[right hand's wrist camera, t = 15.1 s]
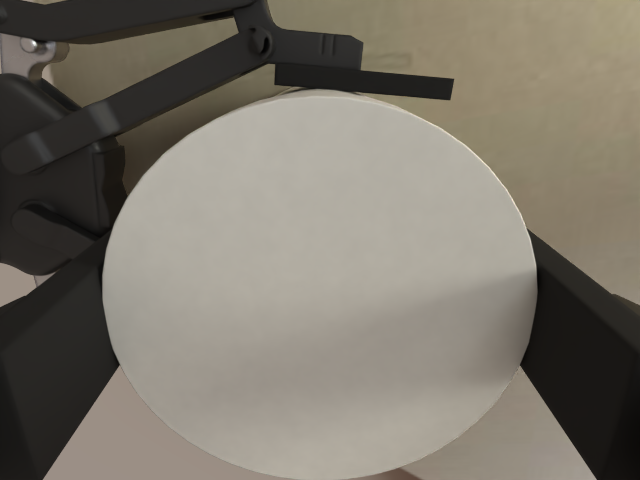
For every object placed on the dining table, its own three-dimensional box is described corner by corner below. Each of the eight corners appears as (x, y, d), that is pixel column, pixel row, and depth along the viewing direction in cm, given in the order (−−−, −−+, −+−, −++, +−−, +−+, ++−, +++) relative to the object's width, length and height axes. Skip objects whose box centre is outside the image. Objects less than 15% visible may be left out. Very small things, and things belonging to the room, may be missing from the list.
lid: (68, 321, 12) (29, 360, 11) (268, -7, 10) (257, -23, 8) (353, 479, 14) (357, 532, 13) (587, 248, 12) (633, 279, 10)
